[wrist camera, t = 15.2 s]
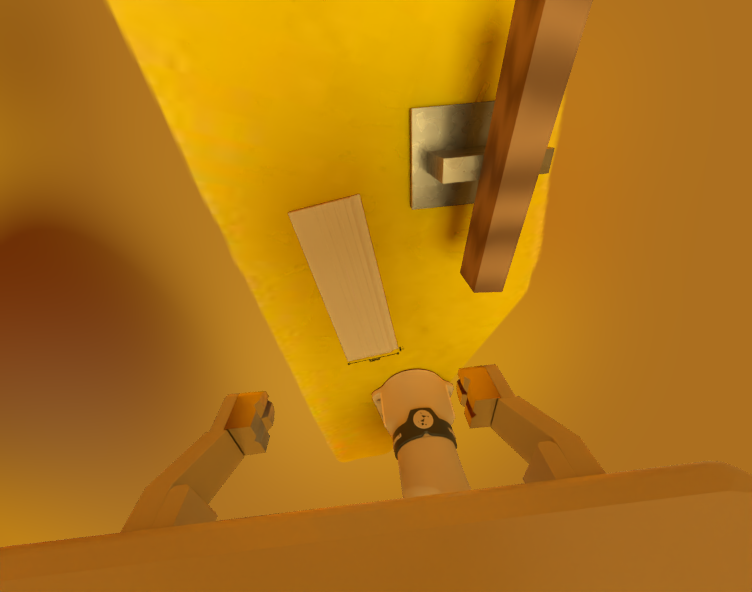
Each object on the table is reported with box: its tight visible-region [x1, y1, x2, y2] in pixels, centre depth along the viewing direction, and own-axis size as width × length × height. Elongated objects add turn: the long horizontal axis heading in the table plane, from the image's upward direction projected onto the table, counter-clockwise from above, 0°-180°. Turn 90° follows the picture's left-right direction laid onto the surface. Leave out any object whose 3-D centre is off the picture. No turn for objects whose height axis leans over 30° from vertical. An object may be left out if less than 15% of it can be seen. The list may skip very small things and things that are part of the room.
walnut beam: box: [460, 0, 593, 293], centre depth 28 cm, size 26×4×5 cm, turn 179°
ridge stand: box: [410, 101, 554, 210], centre depth 34 cm, size 12×16×9 cm
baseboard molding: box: [288, 194, 401, 365], centre depth 47 cm, size 31×3×12 cm
